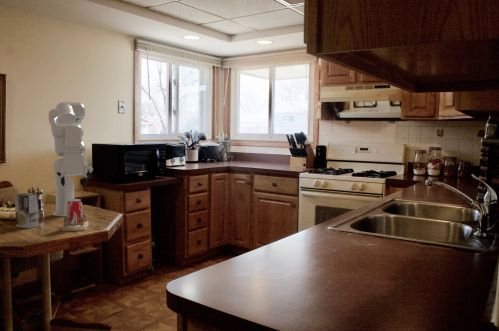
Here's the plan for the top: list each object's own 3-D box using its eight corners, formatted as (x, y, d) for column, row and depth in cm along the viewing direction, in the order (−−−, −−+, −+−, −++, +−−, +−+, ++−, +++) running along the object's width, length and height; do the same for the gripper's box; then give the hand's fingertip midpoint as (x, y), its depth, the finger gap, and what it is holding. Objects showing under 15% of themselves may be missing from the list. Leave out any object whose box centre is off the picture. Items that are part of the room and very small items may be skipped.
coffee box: (40, 225, 209) (39, 193, 207) (29, 228, 203) (28, 195, 201) (26, 224, 212) (25, 192, 210) (15, 226, 206) (14, 194, 204)
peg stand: (65, 225, 209) (64, 214, 209) (88, 225, 212) (88, 213, 211) (61, 231, 199) (60, 218, 198) (85, 230, 201) (85, 217, 201)
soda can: (79, 225, 202) (78, 201, 201) (64, 225, 202) (64, 200, 201) (85, 222, 209) (84, 198, 208) (71, 222, 209) (70, 198, 208)
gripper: (93, 150, 208) (93, 184, 210) (55, 149, 203) (56, 184, 205) (91, 151, 201) (92, 186, 202) (52, 150, 196) (53, 187, 198)
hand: (74, 185), depth 204 cm, fingers open, 9 cm apart
